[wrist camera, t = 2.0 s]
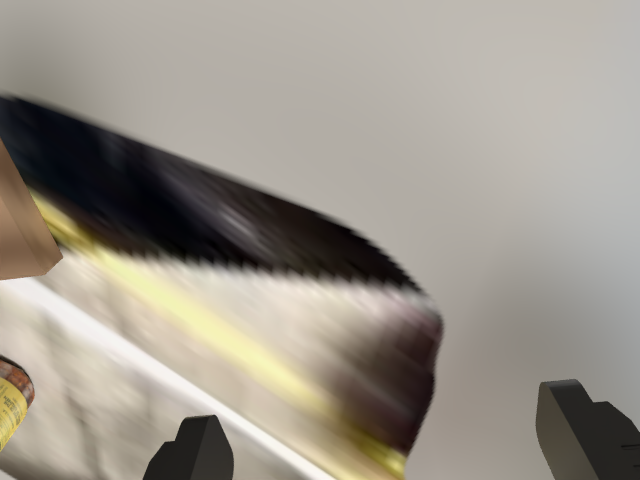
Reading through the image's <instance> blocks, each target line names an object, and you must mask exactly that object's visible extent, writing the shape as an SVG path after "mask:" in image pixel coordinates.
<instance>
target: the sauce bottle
mask: <svg viewBox="0 0 640 480" xmlns="http://www.w3.org/2000/svg"><path fill="white" fill-rule="evenodd" d="M34 396H35V394H34V388H33V384H32V383H31V381H30V378H28V376H27V375H26V374H25V373H24V372H23V370H21V369H19V368H17V367H15V366H13V365H11V364H9V363H6V362H4V361H2V360H0V451H1V450H2V449H3V447H4V446H5V444H6V443H7V442H8V440H9V439H10V437H11V436H12V435H13V433H14V432H15V430H16V429H17V427H18V426H19V425H20V423H21V422H22V420H23V419H24V417H25V415H26V413H27V409H28V408H29V406H30V405H31V403H32V401H33V399H34Z"/></svg>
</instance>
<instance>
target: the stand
mask: <svg viewBox="0 0 640 480" xmlns="http://www.w3.org/2000/svg"><path fill="white" fill-rule="evenodd" d="M62 258H63V256H62V254H61V252H60V250H59V248H58V246H57V244H56V242H55V241H54V239H53V237H52V235H51V233H50V231H49V229H48V227H47V225H46V223H45V222H44V220H43V218H42V216H41V214H40V212H39V210H38V208H37V206H36V204H35V203H34V201H33V199H32V197H31V195H30V193H29V191H28V189H27V187H26V185H25V184H24V182H23V180H22V178H21V176H20V174H19V172H18V170H17V168H16V166H15V165H14V163H13V161H12V159H11V157H10V155H9V153H8V151H7V149H6V148H5V146H4V144H3V142H2V140H1V138H0V280H7V279H15V278H23V277H31V276H39V275H45V274H46V273H47V272H48V271H49V270H50V269H51V268H53V267H54V266H55V265H56V264H57V263H58V262H59V261H60V260H61V259H62Z"/></svg>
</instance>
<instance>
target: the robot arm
mask: <svg viewBox="0 0 640 480" xmlns="http://www.w3.org/2000/svg"><path fill="white" fill-rule="evenodd" d="M538 396H539V397H538V405H537V414H536V432H537V437H538V441H539V444H540V446H541V449H542V452H543V454H544V456H545V458H546V460H547V463H548V465H549V467H550V469H551V472H552V474H553V476H554V478H555V480H640V432H639V431H638V429H637V428H636V426H635V425H634V424H633V422H632V421H631V420H630V419H629V418H628V417H626V416H625V415H624V414H623V413H622V412H620V411H619V410H618V409H616V408H615V407H614V406H613V405H612V404H610V403H609V402H607V401H605V402H594V403H593V402H592V400H591V399H590V397H589V395H588V394H587V392H586V391H585V389H584V388H583V386H582V385H581V383H580V382H579V381H577V380H576V379H570V380H560V381H551V382H542V383H541V384H540V387H539V395H538ZM233 471H234V458H233V452H232V449H231V447H230V444H229V442H228V440H227V438H226V435H225V433H224V431H223V429H222V427H221V424H220V422H219V420H218V418H217V416H216V415H205V416H194V417H186V418H185V419H184V420H183V421H182V423H181V425H180V428H179V430H178V433H177V436H176V439H175V441H170V442H164V444H163V445H162V446H161V448H160V449H159V450H158V452H157V453H156V454H155V455H154V457H153V458H152V459H151V461H150V462H149V464H148V467H147V470H146V472H145V475H144V477H143V480H232V478H233Z"/></svg>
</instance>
